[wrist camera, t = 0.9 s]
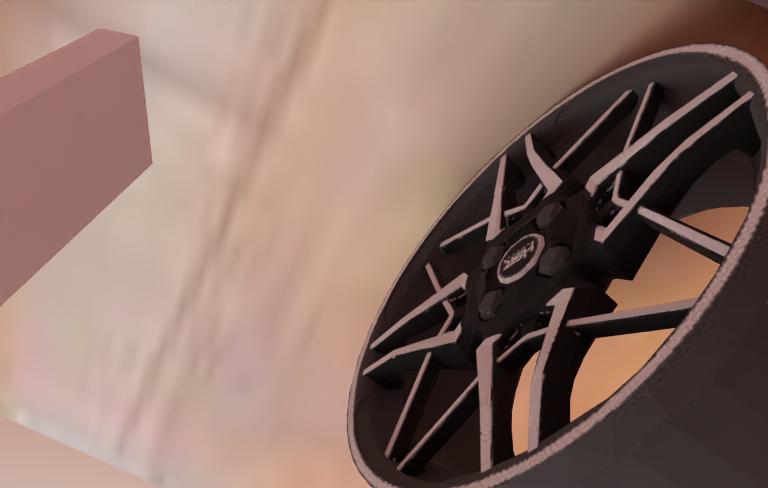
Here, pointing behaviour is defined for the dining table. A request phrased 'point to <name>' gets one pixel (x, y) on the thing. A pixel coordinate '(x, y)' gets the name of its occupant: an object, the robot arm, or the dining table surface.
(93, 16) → the dining table surface
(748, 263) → the wheel rim
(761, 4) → the marker tray
